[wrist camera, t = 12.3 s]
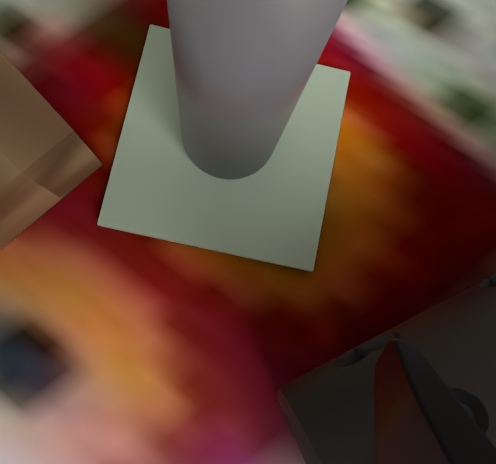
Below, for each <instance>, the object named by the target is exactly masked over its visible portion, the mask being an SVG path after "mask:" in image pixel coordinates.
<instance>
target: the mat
mask: <svg viewBox="0 0 496 464" xmlns="http://www.w3.org/2000/svg"><path fill="white" fill-rule="evenodd" d="M349 78H350V72H349V71H344V70H340V69H336V68H332V67H328V66H323V65H319V64H316V66H315V68H314V70H313V72H312V74H311V76H310V78H309V80H308V82H307V84H306V86H305V88H304V90H303V92H302V94H301V96H300V98H299V100H298V102H297V104H296V106H295V108H294V111H293V113H292V115H291V117H290V119H289V121H288V123H287V125H286V127H285V129H284V131H283V133H282V135H281V137H280V139H279V141H278V143H277V145H276V147H275V149H274V151H273V153H272V155H271V157H270V159H269V160H268V162H267V163H266V164H265V165H264V166H263V167H262V168H261V169H260V170H258V171H257V172H256V173H254V174H252V175H250V176H247V177H244V178H240V179H233V180H232V179H221V178H217V177H213V176H211V175H209V174H207V173H205V172H203V171H202V170H201V169H199V168H198V167H197V166H196V165H195V164H194V163H193V162H192V160H191V159H190V158H189V156H188V154H187V153H186V150H185V148H184V145H183V141H182V133H181V124H180V115H179V106H178V97H177V87H176V78H175V69H174V60H173V51H172V42H171V33H170V29H168V28H164V27H160V26H156V25H151V24H150V27H149V30H148V34H147V38H146V42H145V45H144V49H143V53H142V57H141V60H140V64H139V68H138V72H137V76H136V79H135V83H134V87H133V91H132V94H131V98H130V102H129V106H128V109H127V113H126V117H125V121H124V124H123V128H122V132H121V136H120V139H119V143H118V147H117V151H116V154H115V158H114V162H113V166H112V170H111V173H110V177H109V181H108V185H107V188H106V192H105V196H104V200H103V203H102V207H101V211H100V215H99V218H98V222H97V225H99V226H101V227H106V228H111V229H115V230H120V231H124V232H129V233H134V234H138V235H143V236H147V237H152V238H157V239H161V240H166V241H171V242H175V243H180V244H184V245H189V246H194V247H198V248H203V249H207V250H212V251H217V252H221V253H226V254H230V255H235V256H240V257H244V258H249V259H253V260H258V261H263V262H267V263H272V264H276V265H281V266H286V267H290V268H295V269H299V270H304V271H309V272H312V271H313V269H314V264H315V259H316V253H317V248H318V243H319V237H320V232H321V227H322V221H323V216H324V211H325V205H326V200H327V195H328V189H329V184H330V179H331V173H332V168H333V163H334V157H335V152H336V147H337V141H338V136H339V131H340V125H341V120H342V115H343V110H344V104H345V99H346V94H347V88H348V83H349Z"/></svg>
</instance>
